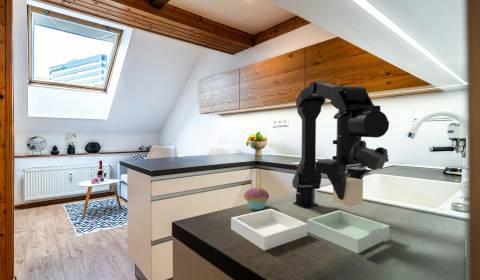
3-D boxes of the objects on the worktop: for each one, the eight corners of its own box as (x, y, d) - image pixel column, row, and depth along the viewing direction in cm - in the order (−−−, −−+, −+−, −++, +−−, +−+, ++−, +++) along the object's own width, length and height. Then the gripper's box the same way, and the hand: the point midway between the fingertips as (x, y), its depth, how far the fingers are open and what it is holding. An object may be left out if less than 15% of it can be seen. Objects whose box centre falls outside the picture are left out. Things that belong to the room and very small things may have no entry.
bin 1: (270, 220, 73) (270, 208, 73) (307, 237, 61) (307, 223, 61) (231, 230, 65) (231, 217, 65) (264, 252, 53) (264, 236, 53)
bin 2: (338, 222, 72) (339, 210, 72) (389, 240, 60) (389, 225, 60) (306, 233, 64) (306, 219, 64) (357, 256, 52) (357, 239, 52)
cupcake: (274, 209, 83) (274, 174, 83) (255, 214, 78) (256, 177, 77) (256, 203, 90) (256, 171, 89) (238, 208, 84) (239, 173, 84)
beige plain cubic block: (344, 198, 65) (344, 176, 65) (362, 203, 61) (363, 179, 61) (332, 201, 62) (333, 178, 62) (350, 206, 58) (351, 182, 58)
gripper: (358, 137, 49) (356, 213, 50) (401, 136, 60) (399, 199, 60) (314, 136, 58) (313, 200, 59) (357, 135, 69) (356, 190, 69)
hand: (347, 197), depth 62 cm, fingers closed on beige plain cubic block, 5 cm apart
